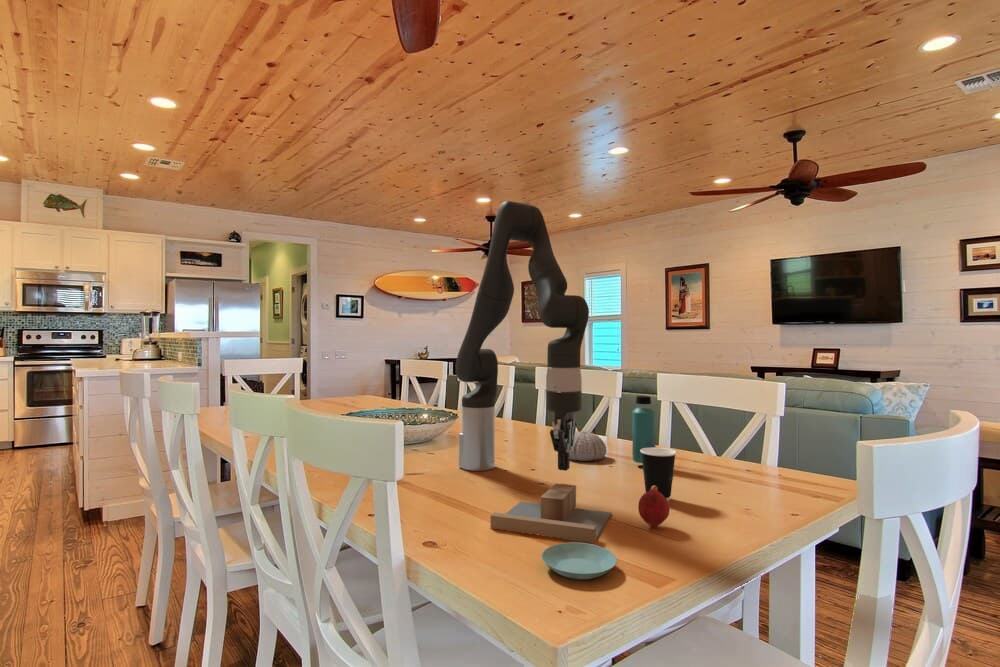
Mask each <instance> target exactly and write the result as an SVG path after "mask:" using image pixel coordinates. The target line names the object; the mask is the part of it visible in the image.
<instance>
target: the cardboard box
mask: <svg viewBox="0 0 1000 667" xmlns="http://www.w3.org/2000/svg"><path fill="white" fill-rule="evenodd" d="M540 504H541V519H549V520H556V521H564V520H565V519H566V518H567V517H568V515H569V514H570V513H571V512H572V511H573V509H574V508H576V507H577V484H567V483H558V482H555V483H554V484H553V485H552V486H551V487H550V488H549V489H547V491H545V492H544V493H543V494H542V495H541V496H540Z"/></svg>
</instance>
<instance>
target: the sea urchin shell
mask: <svg viewBox="0 0 1000 667" xmlns="http://www.w3.org/2000/svg"><path fill="white" fill-rule="evenodd" d="M607 452H608V450H607V446H606V444H605V442H604V441H603V440H602V438H601V437H600V436H598V435H597V434H595V433H593V432H588V431H578V432H575V436H574V441H573V447H571V451H570V460H573V461H576V460H578V461H579V462H591V461H597V459H598V460H601V459H603V458H604V457H605V456H606V455H607Z"/></svg>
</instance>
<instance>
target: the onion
mask: <svg viewBox="0 0 1000 667" xmlns="http://www.w3.org/2000/svg"><path fill="white" fill-rule="evenodd" d="M657 489H658V487H656V486H655V485H654V486H652V487H651V489H650V490H649V491H648V492H646V491H645V492H644V494H642V496H640V498H639V501H638V508H637V509H638V514H639V515H640V518H641V519H642V521H644V522H645V523H646V524H647V525H649V526H650V527H651V528H657V527H658V526H660V525H661V524H662V523H664V522H665V521H666V520H667V519H668V517H669V515H670V505H669V501H667V500H666V498H665V497H664V496H663V494H661V493H660V492H659V491H658V490H657Z"/></svg>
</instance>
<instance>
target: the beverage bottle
mask: <svg viewBox="0 0 1000 667" xmlns="http://www.w3.org/2000/svg"><path fill="white" fill-rule="evenodd" d="M635 398H636V399H635V403H636V404H638V405H651V404H652V402H651V396H649V395H636V397H635ZM631 413H632V437H631V438H632V461H633V462H634V463H636V464H643V462H642V453H641V452H640V450H641V449H643V448H657V446H656V440H657V439H656V422H655V421H656V419H655V418H656V416H655V415H656V412H655V411H654V409H652V407H646V406H645V407H643V406H639V407H638V406H637V407H635V408H634V409H633V410H632V412H631Z"/></svg>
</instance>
